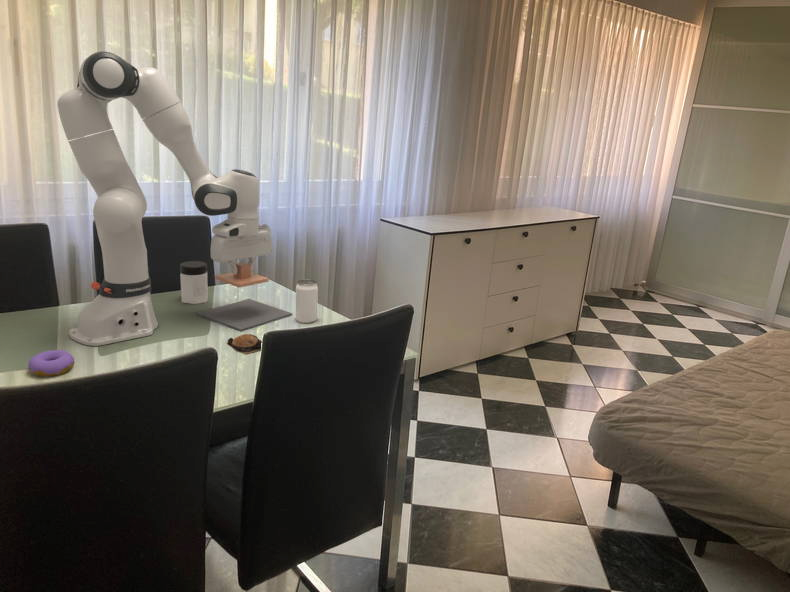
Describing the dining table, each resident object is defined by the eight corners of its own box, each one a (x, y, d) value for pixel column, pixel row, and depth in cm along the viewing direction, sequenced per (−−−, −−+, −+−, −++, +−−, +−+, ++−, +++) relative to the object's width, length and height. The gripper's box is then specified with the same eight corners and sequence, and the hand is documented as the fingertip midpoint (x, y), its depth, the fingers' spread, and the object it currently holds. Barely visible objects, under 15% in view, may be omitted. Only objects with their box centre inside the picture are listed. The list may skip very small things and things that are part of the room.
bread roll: (271, 350, 163) (271, 337, 162) (243, 357, 157) (243, 344, 156) (250, 338, 170) (250, 325, 169) (222, 344, 165) (222, 331, 164)
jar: (187, 306, 191) (186, 268, 188) (176, 299, 197) (174, 263, 193) (214, 300, 197) (212, 264, 194) (202, 294, 203) (200, 259, 199)
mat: (240, 331, 173) (240, 329, 173) (197, 314, 184) (197, 312, 184) (292, 315, 188) (292, 313, 188) (249, 300, 200) (249, 298, 199)
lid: (239, 287, 175) (239, 270, 174) (215, 278, 181) (215, 262, 180) (268, 281, 184) (269, 265, 182) (244, 273, 190) (244, 257, 188)
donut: (26, 363, 145) (29, 344, 144) (70, 365, 150) (73, 346, 149) (27, 380, 137) (30, 360, 136) (74, 381, 142) (76, 362, 141)
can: (306, 325, 181) (306, 286, 177) (291, 319, 184) (291, 281, 181) (321, 320, 186) (322, 282, 182) (306, 314, 189) (306, 277, 186)
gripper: (263, 221, 188) (261, 265, 192) (207, 228, 172) (207, 275, 176) (277, 225, 184) (275, 269, 188) (221, 232, 168) (221, 280, 172)
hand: (242, 272), depth 182 cm, fingers closed on lid, 3 cm apart
